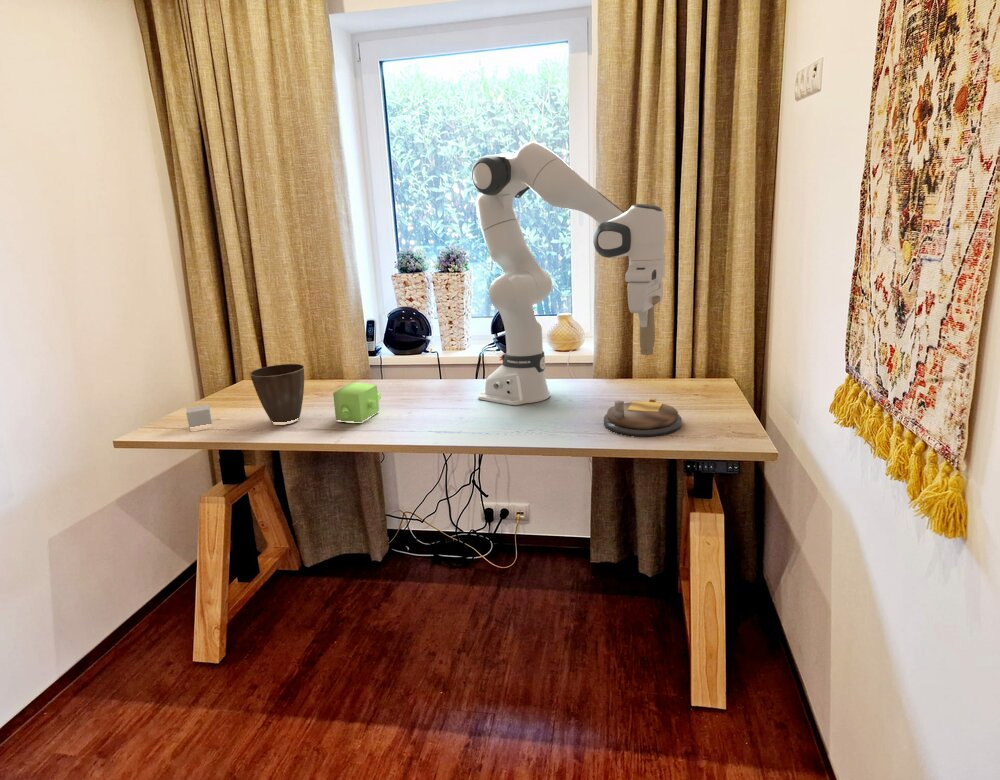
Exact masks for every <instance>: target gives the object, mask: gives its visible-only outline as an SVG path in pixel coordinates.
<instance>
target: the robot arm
mask: <svg viewBox="0 0 1000 780" xmlns="http://www.w3.org/2000/svg"><path fill="white" fill-rule="evenodd" d="M470 179H471V181H472V184H473V187H474V188H475V190H476V191H477V192H478V193H479V194H478V195H477V197H476V200H475V210H476V213H477V215H476V216H477V219H478V223H479V226H480V230H481V232H482V233H481V234H482V236H483V239H484V242H485V244H486V247H487V250H488V253H489V255H490V258H491V259H492V260H493V261H494V262H495V263H496V264H497V265H499V267H500V268H501V269H502V271H503V272H504V273H503V274H502V275H500V276H498V277H496V278H495V279H494V280H493V281H492V282H491V283H490V285H489V289H488V298H489V301H490V303H491V304H492V305H493V306H494V308H496V309H497V310H498V314H499V315H500V317H501V320H502V324H503V327H504V333H505V334H504V335H505V344H506V345H505V346H506V347H505V348H506V352H505V353H503V354H502V355H500V356H499V358H500V359H499V361H502V363H501V365H500V366H498V367H497V369H495V370H494V371H493V372H492V373H490V374H489V375H488V376H487V378H486V381H485V386H484V389H483V390H482V391H480V392H479V394H478V399H479V400H483V401H487V402H494V403H499V404H504V405H511V406H518V405H523V404H531V403H537V402H543V401H545V400H547V399H548V398H550V397H551V394H550V390H549V388H548V384H547V379H546V374H545V370H546V358H545V351H544V350H543V349H544V348H543V329H542V328H543V327H542V325H541V324H540V323H539V322H538V321H537V319H536V318H537V317H536V316H535V313H534V309H533V305H537V304H539V303H541V302H542V301H544V300H545V299H546V298H547V297H548V296H549V295H550V293H551V291H552V289H553V288H552V287H553V282H552V278H551V276H550V275H549V274H548V272H546V271H545V270H544V269H543V268H541V266H540V265H539V263H538V262H537V260H536V258H535V256H533V254H532V252H531V250H530V248H529V247H528V245H527V243H526V240H525V237H524V234H523V232H522V229H521V226H520V223H519V221H518V218H517V214H516V212H515V208H514V199H515V198H516V199H521V198H522V196H524V194H525V193H526V192H527V191H529V190H530V189H531V191H532V192H533V193H535V195H537V196H538V197H539V198H540V199H541V200H542V201H544V202H546V203H547V204H549V205H551V206H552V207H555V208H562V209H570V210H573V211H574V210H575V211H579V212H582V213H583V214H586V215H588V216H589V217H591V219H593V220H594V221H596V222H597V223H598V224H599V225H597V227H596V228H595V231H594V232H593V236H592V237H593V238H592V239H593V240H592V243H593V246H594V249H595V251H596V252H597V253H598V255H600V256H602V257H603V258H608V259H617V258H623V257H628V269H627V271H626V272H625V275H624V276H625V277H624V281H625V282H627V288H626V289H627V291H626V292H627V304H628V310H629V312H630V313H631V314H638V318H639V328H640V327H647V326H648V318H647V314H648V310H649V309H650V308H652V307H653V304H652V298H653V297H655V296H660V302H659V303H657V304H655V305H654V312H655V311H656V310H655V309H656V305H658V304H660V303H661V302H662V301H663V295H664V292H663V289H664V288H663V278H665V277H666V255H665V251H664V245H665V243H666V222H665V220H666V219H665V214H664V212H663V209H662V208H661V207H659V206H657V205H655V204H654V205H653V204H648V203H647V204H644V203H638V204H633V205H631V206H630V208H629V209H628V210H626V211H624V210H622V209H621V208H620V207H619V206H617V205H616V204H615V203H614V202H612V201H611V200H610V199H609V198H608V197H606V196H605V195H603V194H602V192H600V191H598V190H597V189H595V188H594V187H593V186H592V185H591V184H589V182H587V180H585V179H583V177H581V176H580V175H579V174H578V173H577V172H576V171H575V170H574V169H573V168H572V167H571V166H570V165H568V164H567V162H566V161H564V160H563V159H562V158H561V157H560V156H559V155H557V154H556V153H554V151H552V150H551V149H549V148H548V147H546V146H544V145H542V144H540V143H539V142H536V141H530V142H526V143H525V144H523V145H522V146H521V147H519V149H518V150H517V152H516V153H513V152H502V153H498V154H487V155H484V156H482V157H479V158H478V159H477V160H476V161H475V162H474V164H473V166H472V168H471V178H470Z"/></svg>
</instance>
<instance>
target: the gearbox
mask: <svg viewBox="0 0 1000 780" xmlns="http://www.w3.org/2000/svg"><path fill="white" fill-rule="evenodd" d="M332 394H333V395H332V396H333V404H334V405H333V406H334V413H335V421H336V420H341V421H354V422H362V421H363V420H365V419H367V418H368V417H370V416H372V415H373V414H375V413H377V412H378V411H379V412H380V406H379V400H381V399H382V395H381V392H378V385H377V384H373V383H366V382H365V383H363V382H351V383H349V384H347V385H345V386H342V387H340V388H339V389H337V390H335V391H334V392H333V393H332Z"/></svg>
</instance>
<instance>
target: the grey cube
mask: <svg viewBox="0 0 1000 780" xmlns="http://www.w3.org/2000/svg"><path fill="white" fill-rule="evenodd" d="M185 414H186V417H187V418H186V419H187V423H188V428H189V429H190V427H195V426H200V425H206V424H212V423H213V418H212V414H211V408H210V404H202V405H197V406H195V405H194V406H190V407H186V413H185ZM211 418H212V419H211Z"/></svg>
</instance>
